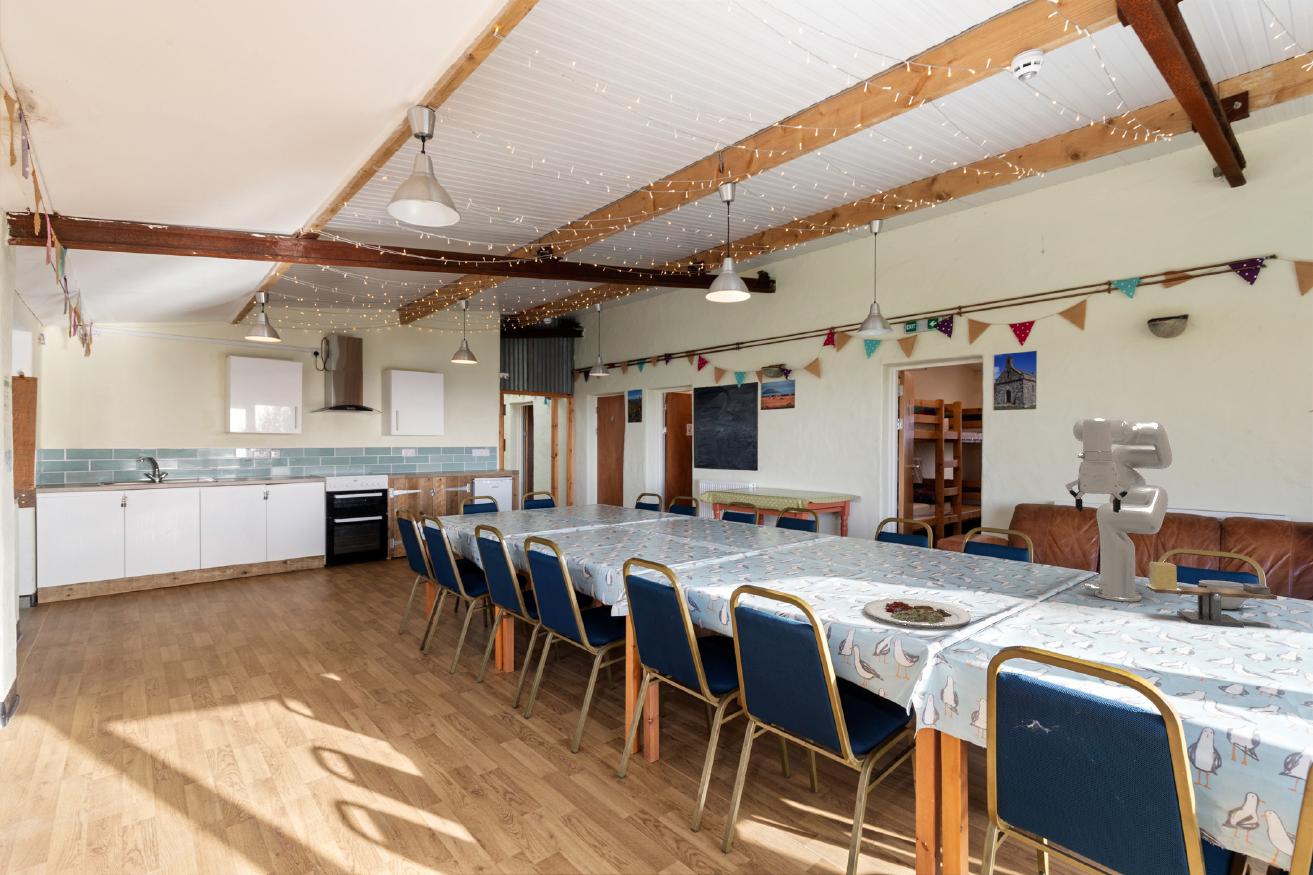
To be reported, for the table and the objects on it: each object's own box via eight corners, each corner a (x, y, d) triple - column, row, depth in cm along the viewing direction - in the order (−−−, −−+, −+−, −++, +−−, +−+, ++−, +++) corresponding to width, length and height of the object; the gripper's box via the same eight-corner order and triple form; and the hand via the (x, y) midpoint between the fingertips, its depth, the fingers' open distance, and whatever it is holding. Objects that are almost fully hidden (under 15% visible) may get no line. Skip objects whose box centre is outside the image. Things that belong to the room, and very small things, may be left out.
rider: (1156, 588, 190) (1155, 564, 190) (1150, 584, 195) (1149, 561, 195) (1176, 589, 188) (1176, 565, 188) (1170, 585, 193) (1169, 562, 193)
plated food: (958, 638, 173) (958, 625, 173) (849, 620, 191) (849, 608, 191) (980, 613, 197) (980, 602, 197) (881, 599, 215) (881, 589, 215)
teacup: (1204, 609, 201) (1204, 583, 201) (1194, 601, 210) (1194, 577, 210) (1263, 614, 194) (1263, 588, 194) (1250, 606, 204) (1250, 581, 204)
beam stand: (1192, 623, 185) (1191, 590, 185) (1176, 614, 195) (1176, 582, 195) (1244, 627, 181) (1244, 594, 181) (1225, 617, 191) (1225, 585, 191)
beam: (1153, 592, 190) (1153, 582, 190) (1145, 587, 196) (1144, 577, 196) (1276, 599, 180) (1276, 588, 180) (1263, 594, 186) (1263, 583, 186)
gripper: (1068, 457, 202) (1068, 512, 202) (1134, 457, 196) (1134, 514, 196) (1062, 457, 209) (1063, 509, 209) (1126, 457, 203) (1126, 511, 203)
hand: (1097, 511), depth 203 cm, fingers open, 9 cm apart
